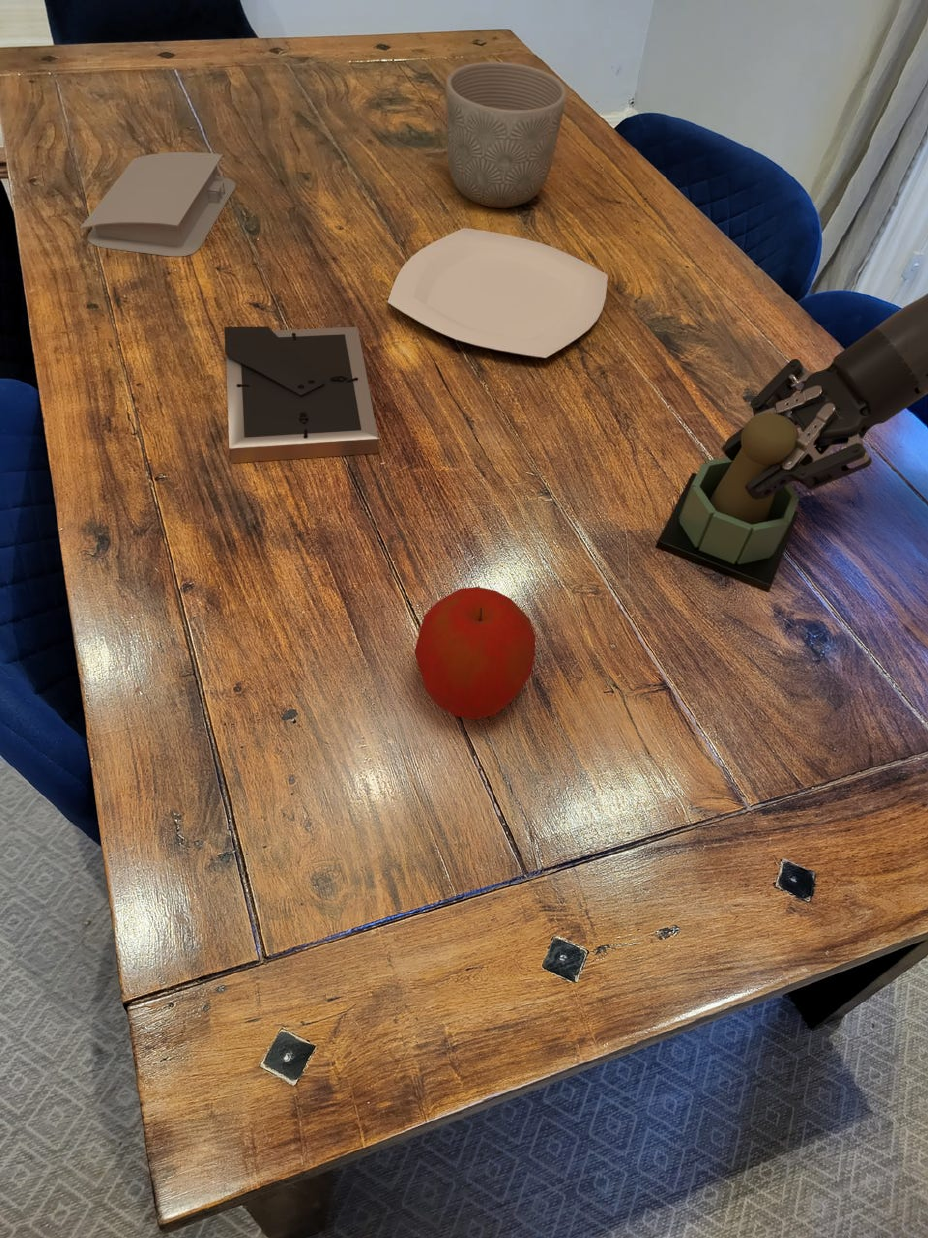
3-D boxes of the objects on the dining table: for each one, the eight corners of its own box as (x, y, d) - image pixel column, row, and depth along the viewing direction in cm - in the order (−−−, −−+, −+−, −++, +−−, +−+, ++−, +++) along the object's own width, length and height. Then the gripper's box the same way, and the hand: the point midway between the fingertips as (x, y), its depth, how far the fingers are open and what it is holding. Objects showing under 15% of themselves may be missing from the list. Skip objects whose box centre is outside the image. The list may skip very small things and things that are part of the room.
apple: (517, 747, 75) (536, 670, 65) (402, 724, 75) (404, 645, 66) (532, 653, 81) (551, 570, 72) (425, 632, 81) (431, 548, 72)
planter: (417, 186, 134) (421, 76, 122) (497, 157, 141) (507, 51, 130) (494, 233, 127) (506, 122, 115) (573, 200, 134) (592, 93, 123)
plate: (454, 227, 127) (455, 214, 125) (628, 284, 121) (631, 270, 119) (360, 318, 111) (359, 304, 110) (554, 387, 105) (557, 374, 104)
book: (240, 179, 131) (236, 152, 128) (192, 259, 117) (187, 231, 114) (139, 166, 131) (133, 138, 128) (79, 244, 117) (71, 216, 114)
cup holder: (795, 518, 94) (817, 477, 90) (768, 592, 88) (789, 552, 83) (690, 478, 97) (706, 436, 92) (655, 547, 90) (670, 505, 86)
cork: (705, 520, 88) (740, 435, 80) (713, 481, 92) (747, 396, 83) (765, 536, 87) (806, 452, 79) (770, 496, 91) (811, 412, 82)
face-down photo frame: (227, 347, 106) (231, 463, 93) (224, 326, 103) (228, 442, 91) (358, 341, 108) (378, 453, 96) (357, 320, 106) (378, 433, 94)
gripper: (849, 289, 80) (692, 408, 87) (935, 387, 71) (753, 509, 78) (875, 335, 85) (724, 443, 92) (958, 431, 77) (785, 542, 84)
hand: (738, 473), depth 85 cm, fingers closed on cork, 5 cm apart
